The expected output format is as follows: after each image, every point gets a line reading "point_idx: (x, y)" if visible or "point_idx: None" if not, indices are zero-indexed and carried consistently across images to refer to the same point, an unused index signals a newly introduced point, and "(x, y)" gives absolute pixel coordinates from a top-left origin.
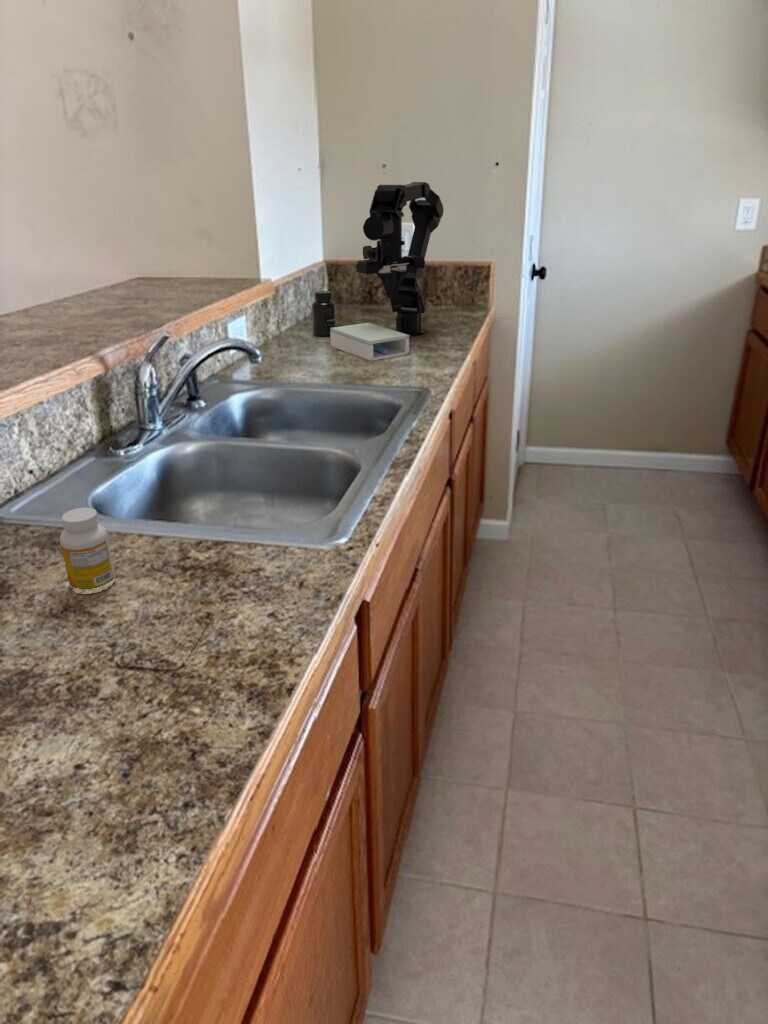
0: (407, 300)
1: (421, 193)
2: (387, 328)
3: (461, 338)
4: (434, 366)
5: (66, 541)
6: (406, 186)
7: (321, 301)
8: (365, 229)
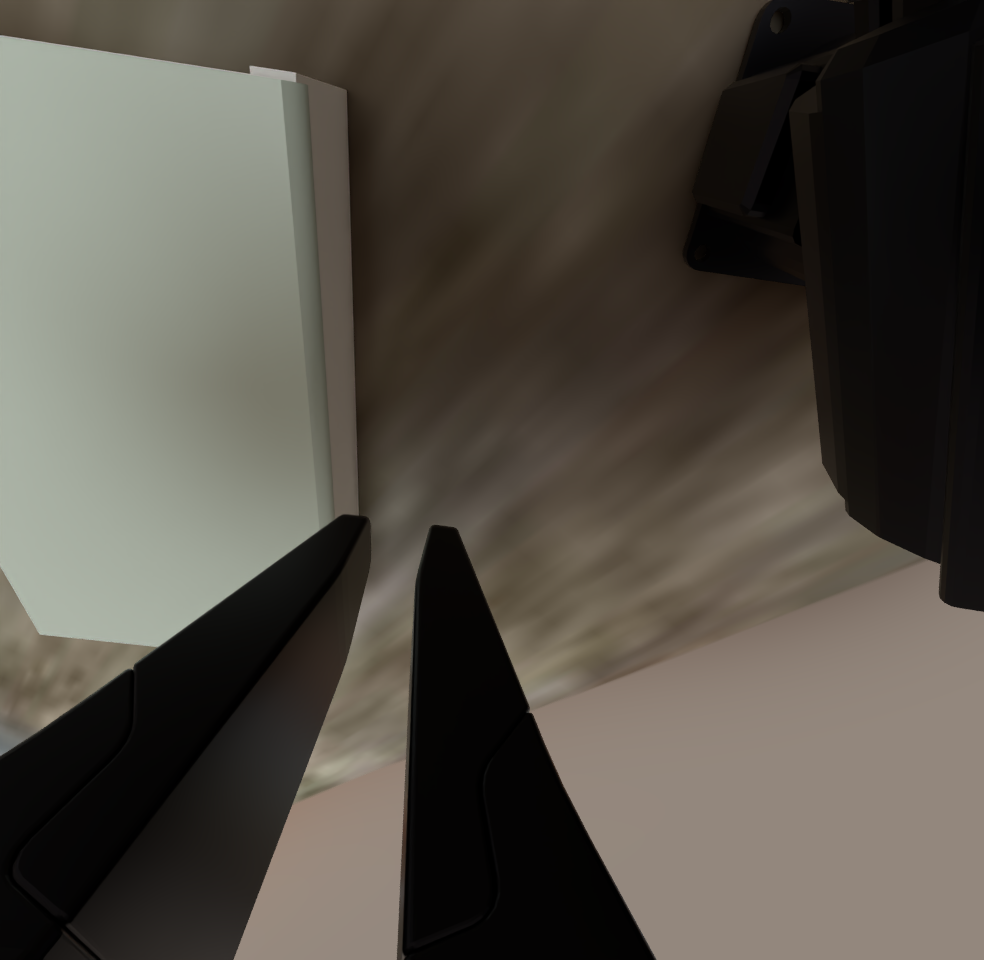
0: (827, 426)
1: None
2: (317, 466)
3: (843, 546)
4: (334, 727)
5: None
6: None
7: None
8: None
